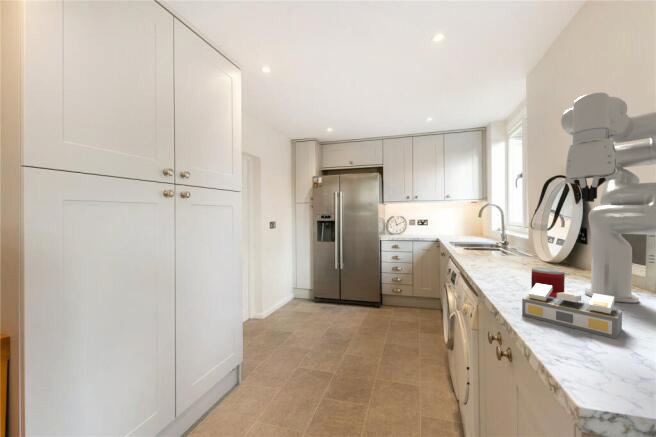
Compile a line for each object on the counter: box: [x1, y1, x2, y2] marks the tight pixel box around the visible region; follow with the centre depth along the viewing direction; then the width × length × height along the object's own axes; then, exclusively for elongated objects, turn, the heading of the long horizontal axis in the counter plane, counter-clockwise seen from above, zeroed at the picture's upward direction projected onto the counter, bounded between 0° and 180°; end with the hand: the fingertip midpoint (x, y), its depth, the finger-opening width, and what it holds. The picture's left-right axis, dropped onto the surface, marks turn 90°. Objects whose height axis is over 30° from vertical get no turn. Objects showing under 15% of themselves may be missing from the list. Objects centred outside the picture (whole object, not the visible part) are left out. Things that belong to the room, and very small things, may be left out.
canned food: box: [530, 266, 566, 298], centre depth 84 cm, size 8×8×11 cm
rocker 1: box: [528, 283, 552, 301], centre depth 74 cm, size 7×4×2 cm, turn 127°
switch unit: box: [521, 295, 623, 340], centre depth 70 cm, size 9×18×5 cm, turn 37°
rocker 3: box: [588, 293, 616, 314], centre depth 65 cm, size 7×4×2 cm, turn 127°
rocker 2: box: [557, 291, 582, 302], centre depth 70 cm, size 7×4×2 cm, turn 128°
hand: (589, 201), depth 77 cm, fingers closed
